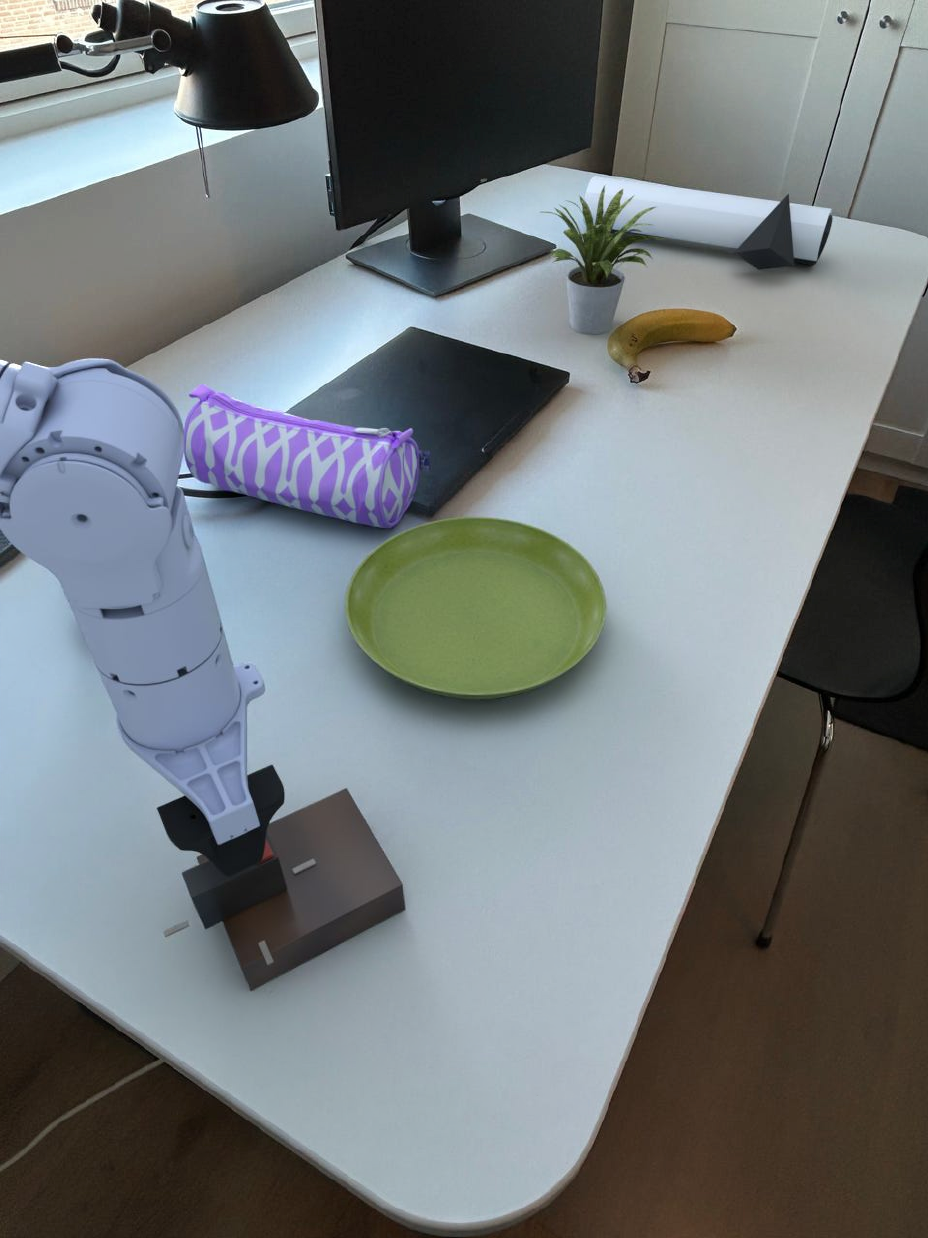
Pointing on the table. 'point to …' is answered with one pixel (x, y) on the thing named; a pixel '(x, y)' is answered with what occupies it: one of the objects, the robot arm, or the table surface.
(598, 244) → the house plant
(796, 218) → the diploma
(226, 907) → the stamp handle
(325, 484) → the pencil case
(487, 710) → the table surface
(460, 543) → the green plate
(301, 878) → the stand
